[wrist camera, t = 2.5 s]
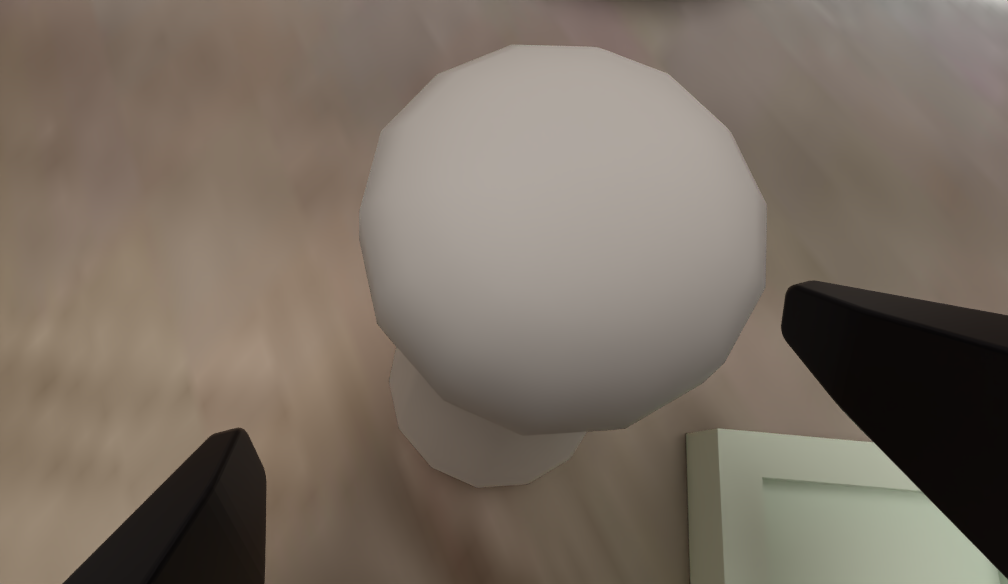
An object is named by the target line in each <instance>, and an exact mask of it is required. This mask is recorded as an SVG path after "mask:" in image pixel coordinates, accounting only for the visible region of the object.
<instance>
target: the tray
mask: <svg viewBox="0 0 1008 584" xmlns="http://www.w3.org/2000/svg"><path fill="white" fill-rule="evenodd" d="M686 455H687V490H688V525H689V560H690V584H1008V579H1007V578H1006V577H1005V576H1004V575H1003V574H1002V573H1001V572H1000V571H999V570H998V569H997V568H996V567H995V566H994V565H993V564H992V563H991V562H990V561H989V560H988V559H987V558H986V557H985V556H984V555H983V554H982V553H981V552H980V551H979V550H978V549H977V548H976V547H975V546H974V545H973V544H972V543H971V542H970V541H969V540H968V539H967V538H966V536H965V535H964V534H963V533H962V532H961V531H960V530H959V529H958V528H957V527H956V526H955V525H954V524H953V523H952V522H951V521H950V520H949V519H948V518H947V517H946V516H945V515H944V514H943V513H942V512H941V511H940V510H939V509H938V508H937V507H936V506H935V505H934V504H933V503H932V502H931V501H930V500H929V499H928V498H927V497H926V496H925V495H924V494H923V492H922V491H921V490H920V489H919V488H918V487H917V486H916V485H915V484H914V483H913V482H912V481H911V480H910V479H909V478H908V477H907V476H906V475H905V474H904V473H903V472H902V471H901V470H900V469H899V468H898V467H897V466H896V465H895V464H894V463H893V462H892V461H891V460H890V459H889V458H888V457H887V456H886V455H885V454H884V453H883V452H882V451H881V449H880V448H879V447H878V446H877V445H876V444H875V443H873V442H862V441H851V440H840V439H830V438H819V437H808V436H797V435H786V434H775V433H764V432H753V431H742V430H731V429H720V428H716V429H710V430H704V431H698V432H692V433H686Z"/></svg>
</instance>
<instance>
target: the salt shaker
mask: <svg viewBox="0 0 1008 584" xmlns="http://www.w3.org/2000/svg"><path fill="white" fill-rule="evenodd" d="M766 228H767V204H766V202H765V200H764V198H763V196H762V194H761V192H760V190H759V188H758V186H757V184H756V182H755V180H754V178H753V176H752V174H751V172H750V170H749V168H748V166H747V164H746V162H745V160H744V158H743V156H742V154H741V151H740V149H739V147H738V145H737V143H736V141H735V139H734V137H733V135H732V133H731V131H730V130H729V129H728V128H727V127H726V126H725V125H724V124H722V123H721V122H720V121H719V120H718V119H717V118H716V117H715V116H714V115H713V114H712V113H710V112H709V111H708V110H707V109H706V108H705V107H704V106H703V105H702V104H701V103H700V102H698V101H697V100H696V99H695V98H694V97H693V96H692V95H691V94H690V93H689V92H688V91H686V90H685V89H684V88H683V87H682V86H681V85H680V84H679V83H678V82H677V81H676V80H674V79H673V78H672V77H671V76H670V75H669V74H667V73H665V72H662V71H659V70H657V69H654V68H652V67H649V66H646V65H644V64H641V63H638V62H636V61H633V60H630V59H628V58H625V57H623V56H620V55H617V54H615V53H612V52H609V51H607V50H604V49H602V48H599V47H584V46H546V45H510V46H507V47H504V48H502V49H499V50H497V51H494V52H492V53H489V54H487V55H484V56H482V57H479V58H477V59H474V60H472V61H469V62H467V63H464V64H462V65H459V66H457V67H454V68H452V69H449V70H447V71H444V72H442V73H439V74H437V75H436V76H435V77H434V78H433V79H432V80H431V81H430V82H429V83H428V84H427V85H426V86H425V87H424V88H423V89H422V90H421V91H420V92H419V93H418V94H417V95H416V96H415V97H414V98H413V99H412V100H411V101H410V102H409V103H408V104H407V105H406V106H405V107H404V108H403V109H402V111H401V112H400V113H399V114H398V115H397V116H396V117H395V118H394V119H393V120H392V121H391V122H390V123H389V124H388V125H387V126H386V127H385V128H384V129H383V130H382V131H381V134H380V138H379V141H378V145H377V149H376V152H375V156H374V160H373V163H372V167H371V171H370V174H369V178H368V182H367V185H366V189H365V192H364V196H363V200H362V203H361V207H360V214H359V240H360V245H361V250H362V254H363V259H364V264H365V269H366V273H367V278H368V283H369V287H370V292H371V297H372V302H373V306H374V311H375V316H376V320H377V324H378V325H379V326H380V328H381V329H382V330H383V331H384V333H385V334H386V335H387V336H388V337H389V339H390V340H391V341H392V342H393V343H394V344H395V346H396V350H395V355H394V360H393V364H392V369H391V374H390V378H389V384H390V388H391V393H392V398H393V403H394V408H395V413H396V418H397V423H398V427H399V429H400V431H401V432H402V433H403V434H404V435H405V436H406V438H407V439H408V440H409V441H410V442H411V444H412V445H413V446H414V447H415V448H416V450H417V451H418V452H419V453H420V454H421V456H422V457H423V458H424V459H425V460H426V461H427V463H428V464H429V465H430V466H431V467H432V468H434V469H436V470H439V471H441V472H443V473H445V474H447V475H450V476H452V477H454V478H456V479H459V480H461V481H463V482H465V483H468V484H470V485H472V486H474V487H476V488H482V487H496V486H511V485H525V484H529V483H531V482H532V481H534V480H536V479H537V478H539V477H541V476H542V475H544V474H546V473H547V472H549V471H551V470H553V469H554V468H556V467H558V466H559V465H561V464H563V463H564V462H566V461H568V460H569V459H570V458H571V457H572V455H573V454H574V452H575V450H576V449H577V447H578V446H579V444H580V442H581V441H582V439H583V438H584V436H585V434H586V433H587V432H589V431H604V430H615V429H625V428H627V427H629V426H630V425H632V424H634V423H636V422H637V421H639V420H641V419H642V418H644V417H646V416H648V415H649V414H651V413H653V412H654V411H656V410H658V409H660V408H661V407H663V406H665V405H666V404H668V403H670V402H672V401H673V400H675V399H677V398H678V397H680V396H682V395H683V394H685V393H687V392H689V391H690V390H692V389H694V388H695V387H697V386H699V385H701V384H702V383H704V382H705V381H706V380H707V379H708V378H709V377H710V376H711V375H712V374H713V373H714V372H715V371H716V370H717V369H718V368H719V367H720V366H721V365H723V364H724V362H725V361H726V359H727V357H728V355H729V353H730V351H731V350H732V348H733V346H734V344H735V342H736V340H737V339H738V337H739V335H740V333H741V331H742V329H743V328H744V326H745V324H746V322H747V320H748V318H749V316H750V315H751V313H752V311H753V309H754V307H755V305H756V304H757V302H758V300H759V298H760V296H761V294H762V293H763V291H764V289H765V284H766Z"/></svg>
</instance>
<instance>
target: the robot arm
mask: <svg viewBox="0 0 1008 584" xmlns="http://www.w3.org/2000/svg"><path fill="white" fill-rule="evenodd" d="M781 330H782V334H783V337H784V339H785V340H786V342H787V343H788V344H789V346H790V347H791V348H792V349H793V351H794V352H795V353H796V354H797V355H798V357H799V358H800V359H801V360H802V362H803V363H804V364H805V365H806V367H807V368H808V369H809V370H810V372H811V373H812V374H813V375H814V377H815V378H816V379H817V380H818V381H819V383H820V384H821V385H822V386H823V388H824V389H825V390H826V391H827V393H828V394H829V395H830V396H831V398H832V399H833V400H834V401H835V402H836V403H837V405H838V406H839V407H840V408H841V409H842V410H843V411H844V412H845V413H846V415H847V416H848V417H849V418H850V419H851V420H852V421H853V422H854V423H855V424H856V425H857V426H858V427H859V428H860V429H861V430H862V431H863V432H864V433H865V434H866V435H867V436H868V437H869V438H870V439H871V440H872V441H873V442H874V443H875V444H876V445H877V446H878V447H879V448H880V449H881V451H882V452H883V453H884V454H885V455H886V456H887V457H888V458H889V459H890V460H891V461H892V462H893V463H894V464H895V465H896V466H897V467H898V468H899V469H900V470H901V471H902V472H903V473H904V474H905V475H906V476H907V477H908V478H909V479H910V480H911V481H912V482H913V483H914V484H915V485H916V486H917V487H918V488H919V489H920V490H921V491H922V492H923V494H924V495H925V496H926V497H927V498H928V499H929V500H930V501H931V502H932V503H933V504H934V505H935V506H936V507H937V508H938V509H939V510H940V511H941V512H942V513H943V514H944V515H945V516H946V517H947V518H948V519H949V520H950V521H951V522H952V523H953V524H954V525H955V526H956V527H957V528H958V529H959V530H960V531H961V532H962V533H963V534H964V535H965V536H966V538H967V539H968V540H969V541H970V542H971V543H972V544H973V545H974V546H975V547H976V548H977V549H978V550H979V551H980V552H981V553H982V554H983V555H984V556H985V557H986V558H987V559H988V560H989V561H990V562H991V563H992V564H993V565H994V566H995V567H996V568H997V569H998V570H999V571H1000V572H1001V573H1002V574H1003V575H1004V576H1005V577H1006V578H1007V579H1008V315H1003V314H997V313H992V312H986V311H981V310H975V309H970V308H964V307H959V306H953V305H948V304H942V303H936V302H931V301H925V300H920V299H914V298H909V297H903V296H898V295H892V294H887V293H881V292H876V291H870V290H864V289H859V288H853V287H848V286H842V285H837V284H831V283H826V282H820V281H807V282H803V283H799V284H795V285H792V286H791V287H789V288H788V290H787V292H786V295H785V302H784V309H783V316H782V323H781ZM265 545H266V475H265V471H264V467H263V465H262V463H261V461H260V459H259V457H258V454H257V452H256V450H255V448H254V446H253V444H252V442H251V440H250V437H249V435H248V434H247V432H246V431H245V430H244V429H242V428H234V429H230V430H226V431H223V432H219V433H215V434H213V435H211V436H210V437H209V438H208V439H207V440H206V441H205V442H204V443H203V444H202V445H201V446H200V447H199V448H198V449H197V450H196V451H195V452H194V453H193V454H192V455H191V456H190V457H189V458H188V459H187V460H186V461H185V462H184V463H183V464H182V465H181V466H180V467H179V468H178V469H177V470H176V471H175V472H174V473H173V474H172V475H171V476H170V477H169V478H168V479H167V480H166V481H165V482H164V483H163V484H162V485H161V486H160V487H159V488H158V489H157V490H156V491H155V492H154V493H153V494H152V495H151V496H150V497H149V498H148V499H147V500H146V501H145V502H144V503H143V504H142V505H141V506H140V507H139V508H138V509H137V510H136V511H135V512H134V513H133V514H132V515H131V516H130V517H129V518H128V519H127V520H126V521H125V522H124V523H123V524H122V525H121V526H120V527H119V528H118V529H117V530H116V531H115V532H114V533H113V534H112V535H111V536H110V537H109V538H108V539H107V540H106V541H105V542H104V543H103V544H102V545H101V546H100V547H99V548H98V549H97V550H96V551H95V552H94V553H93V554H92V555H91V556H90V557H89V558H88V559H87V560H86V561H85V562H84V563H83V564H82V565H81V566H80V567H79V568H78V569H77V570H76V571H75V572H74V573H73V574H72V575H71V576H70V577H69V578H68V579H67V580H66V581H65V582H64V583H63V584H264V582H265Z"/></svg>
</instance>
